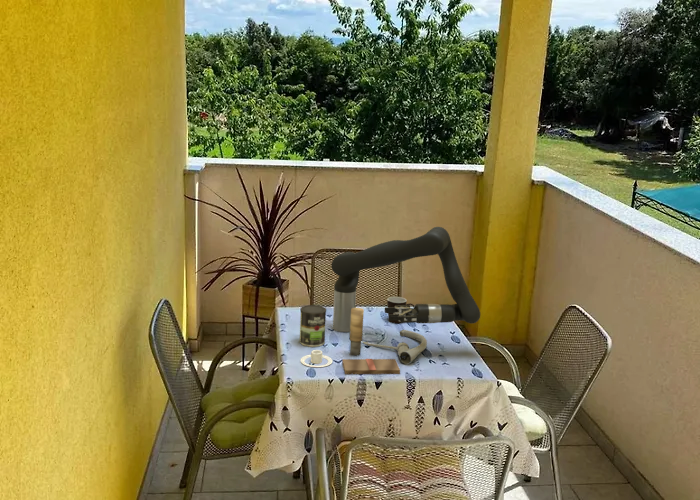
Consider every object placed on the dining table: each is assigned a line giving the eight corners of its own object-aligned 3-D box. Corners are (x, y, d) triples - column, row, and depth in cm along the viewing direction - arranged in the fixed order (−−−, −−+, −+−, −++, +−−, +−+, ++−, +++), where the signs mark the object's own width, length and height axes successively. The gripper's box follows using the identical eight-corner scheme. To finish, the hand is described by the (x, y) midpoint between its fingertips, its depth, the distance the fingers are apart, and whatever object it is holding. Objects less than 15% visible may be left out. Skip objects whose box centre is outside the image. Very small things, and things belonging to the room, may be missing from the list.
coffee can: (328, 345, 266) (330, 312, 263) (304, 348, 263) (305, 314, 259) (320, 336, 276) (321, 303, 272) (296, 338, 272) (297, 305, 268)
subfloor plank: (345, 374, 241) (345, 369, 240) (342, 363, 250) (342, 358, 250) (399, 373, 243) (400, 369, 243) (394, 362, 253) (395, 358, 252)
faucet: (349, 354, 266) (385, 334, 288) (411, 365, 250) (444, 343, 272) (348, 342, 265) (384, 323, 287) (410, 352, 249) (443, 332, 272)
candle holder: (300, 355, 256) (301, 345, 255) (332, 356, 257) (332, 345, 256) (300, 368, 245) (300, 357, 243) (332, 369, 245) (333, 358, 244)
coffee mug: (382, 321, 297) (383, 299, 294) (392, 316, 304) (393, 295, 301) (404, 327, 290) (406, 305, 288) (414, 322, 297) (416, 301, 295)
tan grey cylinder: (353, 350, 263) (355, 306, 258) (363, 353, 260) (366, 309, 256) (346, 354, 259) (348, 309, 254) (357, 357, 256) (359, 312, 252)
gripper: (424, 298, 265) (383, 298, 263) (432, 310, 251) (390, 310, 249) (423, 316, 266) (383, 317, 264) (431, 329, 253) (389, 329, 251)
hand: (386, 313), depth 257 cm, fingers open, 8 cm apart
